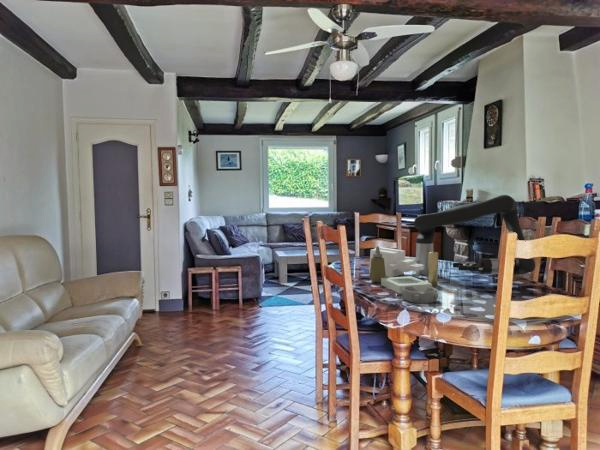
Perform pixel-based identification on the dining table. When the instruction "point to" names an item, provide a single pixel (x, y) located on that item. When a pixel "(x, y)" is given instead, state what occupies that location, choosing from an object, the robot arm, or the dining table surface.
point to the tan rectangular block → (433, 268)
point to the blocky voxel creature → (396, 262)
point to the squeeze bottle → (377, 266)
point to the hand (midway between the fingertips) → (455, 266)
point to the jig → (404, 283)
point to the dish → (420, 295)
